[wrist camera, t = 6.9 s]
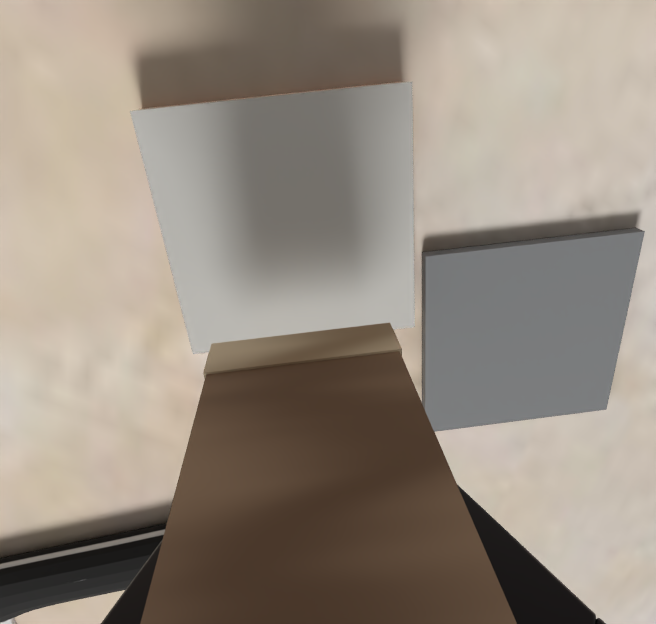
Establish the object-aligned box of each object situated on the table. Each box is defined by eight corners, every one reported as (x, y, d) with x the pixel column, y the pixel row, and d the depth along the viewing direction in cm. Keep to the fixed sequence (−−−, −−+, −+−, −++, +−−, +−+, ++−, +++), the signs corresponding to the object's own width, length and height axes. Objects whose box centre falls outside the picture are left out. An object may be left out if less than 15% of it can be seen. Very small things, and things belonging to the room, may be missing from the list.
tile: (403, 305, 16) (398, 81, 13) (414, 326, 15) (412, 81, 12) (201, 329, 16) (146, 107, 13) (193, 354, 15) (129, 111, 12)
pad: (635, 227, 15) (644, 231, 15) (600, 403, 18) (606, 409, 18) (422, 252, 15) (425, 256, 15) (422, 425, 18) (425, 432, 18)
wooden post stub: (389, 322, 11) (695, 1014, 3) (394, 457, 13) (590, 1115, 5) (211, 343, 11) (-10, 1137, 3) (241, 477, 13) (166, 1190, 4)
